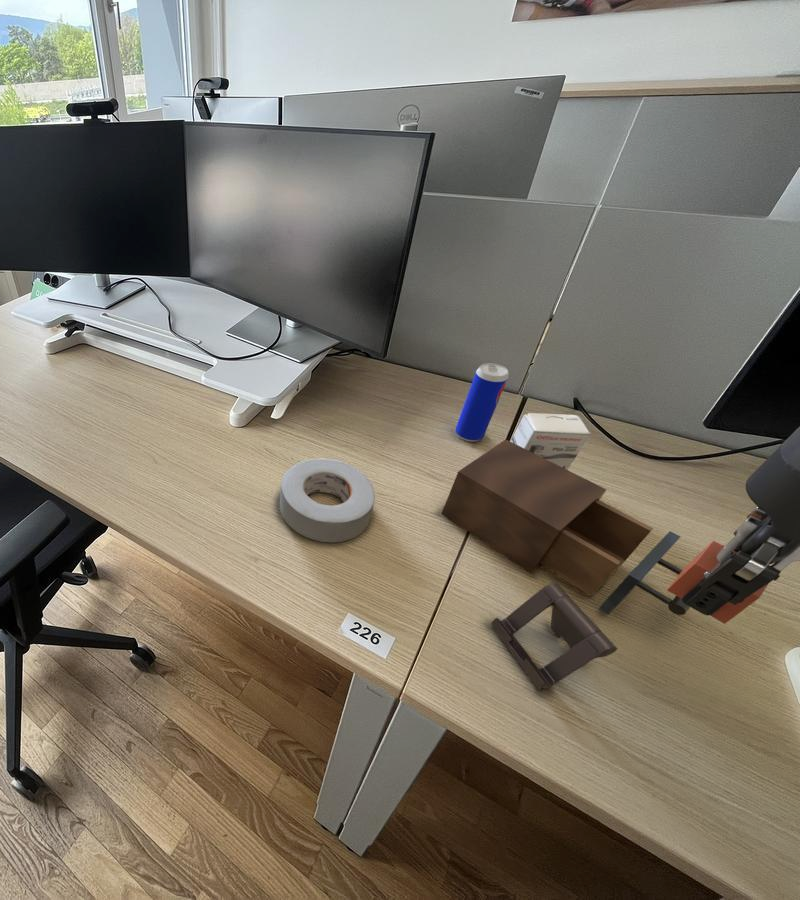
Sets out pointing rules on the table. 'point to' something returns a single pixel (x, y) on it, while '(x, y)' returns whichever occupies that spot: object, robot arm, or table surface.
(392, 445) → the table surface
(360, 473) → the tape roll
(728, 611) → the block
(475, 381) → the beverage can
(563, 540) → the drawer
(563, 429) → the ink box
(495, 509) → the cabinet
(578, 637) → the tablet stand
